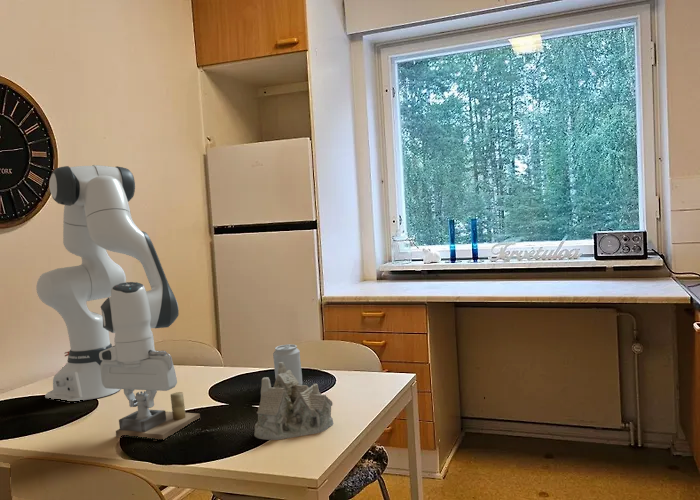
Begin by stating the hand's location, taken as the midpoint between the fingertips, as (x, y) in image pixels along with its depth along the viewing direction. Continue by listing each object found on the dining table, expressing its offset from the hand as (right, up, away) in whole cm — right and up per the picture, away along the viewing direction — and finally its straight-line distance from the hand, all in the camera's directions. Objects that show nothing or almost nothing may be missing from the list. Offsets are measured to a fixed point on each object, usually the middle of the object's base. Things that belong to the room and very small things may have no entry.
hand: (141, 406), depth 150 cm
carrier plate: (+4, -6, +2) cm, 7 cm away
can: (+33, -1, +26) cm, 42 cm away
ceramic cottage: (+37, -4, -6) cm, 38 cm away
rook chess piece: (+1, -5, 0) cm, 5 cm away
